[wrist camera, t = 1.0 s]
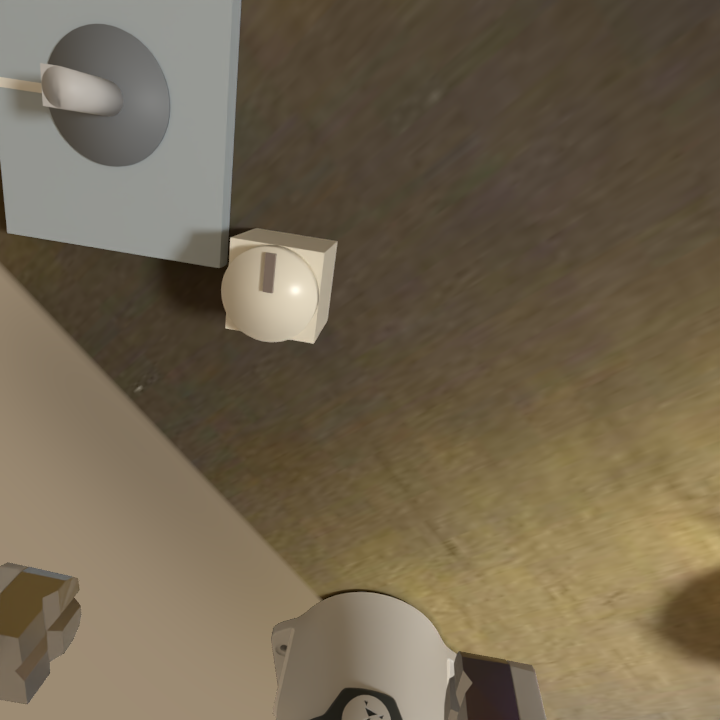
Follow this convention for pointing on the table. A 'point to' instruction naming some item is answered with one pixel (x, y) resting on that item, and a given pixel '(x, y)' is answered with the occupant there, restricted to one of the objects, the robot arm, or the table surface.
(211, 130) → the panel
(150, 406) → the table surface
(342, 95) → the table surface
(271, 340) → the knob
